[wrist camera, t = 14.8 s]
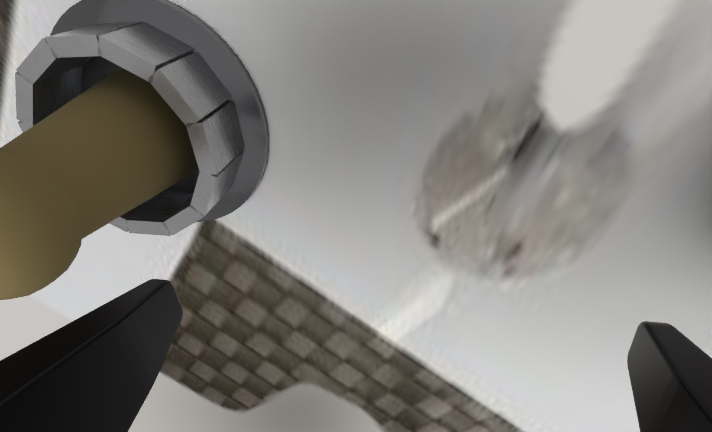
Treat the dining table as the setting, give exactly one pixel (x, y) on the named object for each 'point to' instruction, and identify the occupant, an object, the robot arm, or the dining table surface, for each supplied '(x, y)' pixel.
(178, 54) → the duct collar
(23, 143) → the olive game pawn
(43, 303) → the dining table surface
